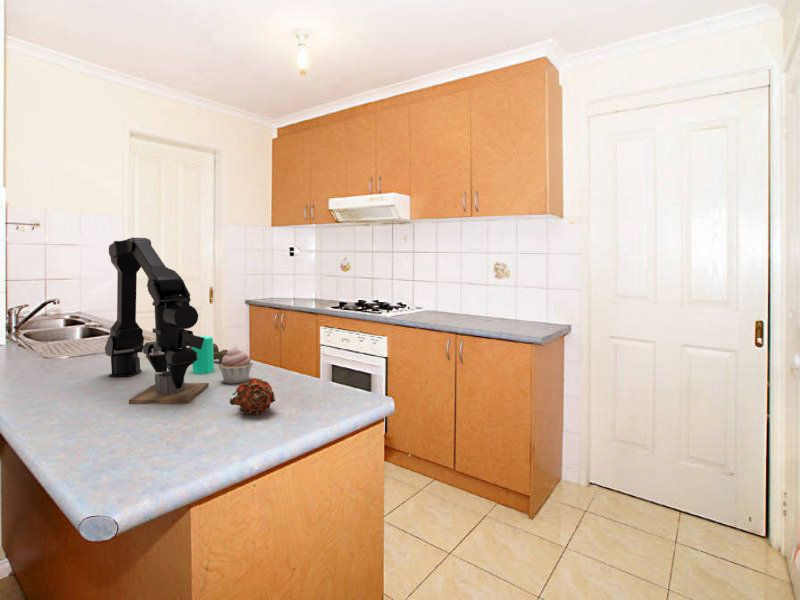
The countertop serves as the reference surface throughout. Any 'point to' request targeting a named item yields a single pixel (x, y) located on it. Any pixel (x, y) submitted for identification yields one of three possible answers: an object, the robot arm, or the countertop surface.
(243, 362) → the cupcake
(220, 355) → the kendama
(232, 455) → the countertop surface
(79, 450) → the countertop surface
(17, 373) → the countertop surface
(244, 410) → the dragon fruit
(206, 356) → the candle
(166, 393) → the gray faceted pot
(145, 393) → the square brown plate
